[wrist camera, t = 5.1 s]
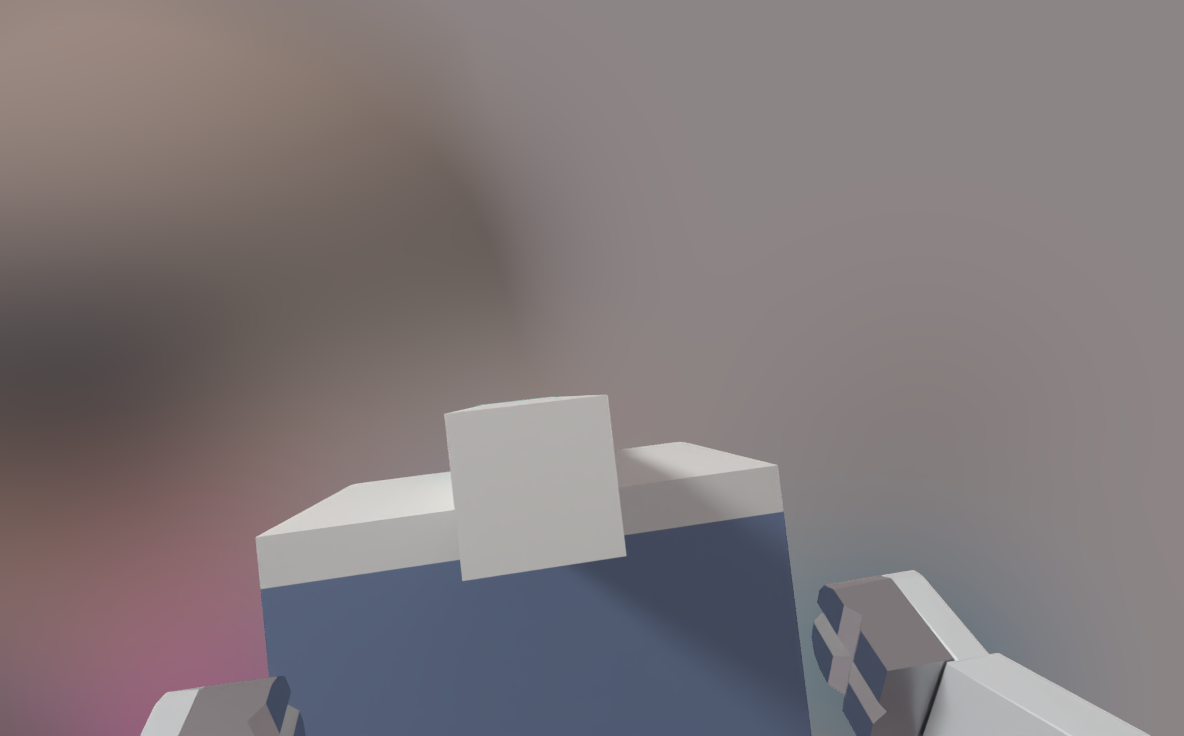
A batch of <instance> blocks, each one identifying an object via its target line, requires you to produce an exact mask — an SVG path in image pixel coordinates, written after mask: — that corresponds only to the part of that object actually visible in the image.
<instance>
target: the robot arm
mask: <svg viewBox="0 0 1184 736" xmlns="http://www.w3.org/2000/svg"><path fill="white" fill-rule="evenodd" d="M817 603H818V605H819V606H820V608H821V609H822V611H823V613H822V614H821V615H820V616H819V617H818V618H817V619H816V620H815V621H814V623H813V631H812V641H813V648H814V653H815V657H816V660H817V662H818V665H819V668H820V670H821V672H822V674H823V676H824V677H825V679H826V681H827V683H828V684H829V685H830V686H832V687H833V688H835V689H836V690H838V691H839V692H841V693H842V694H844V703H843V712H844V714H845V716H846V717H847V719H848V721H849V723H850V725H851V726H852V728H853V730H854V732H855V733H856V735H857V736H1150V735H1148V734H1147V733H1145V732H1143V731H1141V730H1139V729H1137V728H1135V727H1134V726H1132V725H1130V724H1128V723H1126V722H1124V721H1123V720H1121V719H1119V718H1117V717H1115V716H1113V715H1111V714H1110V713H1108V712H1106V711H1104V710H1102V709H1100V708H1099V707H1097V706H1095V705H1093V704H1091V703H1090V702H1088V701H1086V700H1084V699H1082V698H1080V697H1079V696H1077V695H1075V694H1073V693H1071V692H1069V691H1067V690H1065V689H1064V688H1062V687H1060V686H1058V685H1056V684H1055V683H1053V682H1051V681H1049V680H1047V679H1045V678H1044V677H1042V676H1040V675H1038V674H1036V673H1034V672H1033V671H1031V670H1029V669H1027V668H1025V667H1023V666H1022V665H1019V664H1018V663H1016V662H1014V661H1012V660H1011V659H1009V658H1007V657H1005V656H1003V655H1001V654H999V653H994V654H989V653H988V652H987V651H986V650H985V649H984V647H983V646H982V645H981V644H980V643H979V642H978V641H977V639H976V638H975V637H974V636H973V635H972V633H971V632H970V631H969V630H968V629H967V628H966V626H965V625H964V624H963V623H962V622H961V620H960V619H959V618H958V617H957V616H956V615H955V613H954V612H953V611H952V610H951V609H950V608H949V606H948V605H947V604H946V603H945V602H944V601H943V599H942V598H941V597H940V596H939V595H938V594H937V592H936V591H935V590H934V589H933V588H932V586H931V585H930V584H929V583H928V582H927V581H926V579H925V578H924V577H923V576H922V575H921V574H919V573H918V572H916V571H914V570H911V571H905V572H899V573H893V574H887V575H883V576H881V575H877V576H871V577H866V578H860V579H855V580H849V581H844V582H839V583H832V584H827V585H824V586H823V587H822V588H821V589H820V591H819V595H818V601H817ZM290 694H291V689H290V687H289V685H288V682H287V680H286V678H285V676H277V677H270V678H263V679H255V680H248V681H241V682H234V683H227V684H219V685H212V686H205V687H199V688H193V689H186V690H180V691H173V692H167V693H166V694H165V695H164V696H163V697H162V698H161V699H160V700H159V701H158V702H157V703H156V705H155V706H154V708H153V710H152V712H151V714H150V716H149V718H148V721H147V723H146V725H145V727H144V729H143V731H142V733H141V735H140V736H306V734H305V728H304V722H303V719H302V716H301V714H300V711H299V710H297V709H295V708H293V707H291V706H290V705H288V702H289V698H290Z"/></svg>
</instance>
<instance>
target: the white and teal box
mask: <svg viewBox="0 0 1184 736" xmlns="http://www.w3.org/2000/svg"><path fill="white" fill-rule="evenodd" d="M444 416H445V426H446V435H447V444H448V453H449V462H450V472H451V481H452V491H453V500H454V509H455V518H456V527H457V537H458V546H459V555H460V564H461V574H462V581H467V580H473V579H480V578H486V577H493V576H499V575H506V574H512V573H519V572H526V571H532V570H539V569H545V568H552V567H558V566H565V565H571V564H578V563H584V562H591V561H597V560H604V559H611V558H617V557H624V556H626V548H625V539H624V530H623V522H622V513H621V505H620V496H619V488H618V479H617V470H616V462H615V453H614V445H613V436H612V429H611V419H610V411H609V402H608V395H590V396H565V397H558V396H553V397H544V398H536V399H528V400H518V401H510V402H502V403H493V404H484V405H477V406H475V407H472V408H468V409H464V410H459V411H456V412H451V413H447V414H444Z"/></svg>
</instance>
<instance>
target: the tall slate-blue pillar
mask: <svg viewBox="0 0 1184 736" xmlns="http://www.w3.org/2000/svg"><path fill="white" fill-rule="evenodd" d="M614 453H615V462H616V470H617V479H618V488H619V496H620V505H621V513H622V522H623V530H624V539H625V548H626V556H624V557H617V558H611V559H604V560H597V561H591V562H584V563H578V564H571V565H565V566H558V567H552V568H545V569H539V570H532V571H526V572H519V573H512V574H506V575H499V576H493V577H486V578H480V579H473V580H467V581H462V574H461V564H460V555H459V546H458V537H457V527H456V518H455V509H454V500H453V491H452V481H451V472H444V473H436V474H428V475H421V476H413V477H405V478H397V479H390V480H382V481H374V482H366V483H359V484H353V485H350V486H349V487H347V488H345V489H343V490H341V491H340V492H338V493H336V494H334V495H332V496H330V497H329V498H327V499H325V500H323V501H321V502H319V503H317V504H316V505H314V506H312V507H310V508H308V509H306V510H305V511H303V512H301V513H299V514H297V515H296V516H294V517H292V518H290V519H288V520H286V521H285V522H283V523H281V524H279V525H277V526H275V527H273V528H272V529H270V530H268V531H266V532H264V533H263V534H261V535H259V536H257V537H256V547H257V557H258V567H259V577H260V588H261V598H262V608H263V619H264V628H265V638H266V649H267V660H268V669H269V678H270V677H277V676H285V678H286V680H287V682H288V685H289V687H290V689H291V694H290V698H289V702H288V705H290V706H291V707H293V708H295V709H297V710H299V711H300V714H301V716H302V719H303V722H304V728H305V734H306V736H812V735H811V728H810V719H809V711H808V704H807V695H806V687H805V679H804V671H803V664H802V655H801V647H800V640H799V632H798V623H797V615H796V607H795V599H794V591H793V583H792V575H791V568H790V560H789V551H788V543H787V536H786V528H785V520H784V512H783V504H782V496H781V488H780V480H779V472H778V465H775V464H770V463H767V462H763V461H758V460H754V459H750V458H746V457H742V456H738V455H734V454H730V453H726V452H722V451H718V450H714V449H710V448H706V447H702V446H698V445H694V444H690V443H685V442H675V443H667V444H659V445H651V446H644V447H636V448H629V449H620V450H614Z"/></svg>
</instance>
